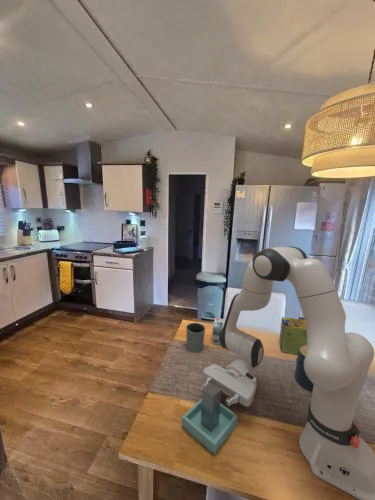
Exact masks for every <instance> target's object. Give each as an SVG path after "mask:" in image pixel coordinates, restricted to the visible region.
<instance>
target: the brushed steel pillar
mask: <svg viewBox="0 0 375 500" xmlns="http://www.w3.org/2000/svg"><path fill="white" fill-rule="evenodd" d="M221 396H222V391H221V389H220V388H219V387H217V386H216V385H214V384H212V383H211V382H210V383H209V384H208V385H207V386H205V387H204V386H203V388H202V389H201V398H202V404H201V424H202V425H203V426H204V427H205V428H207V429H208V430H209V431H210V432H212V431H213V430H214V428H215V427H216V426H217V425H218V424H219V415H220V403H221Z"/></svg>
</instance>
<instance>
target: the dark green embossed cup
mask: <svg viewBox="0 0 375 500" xmlns="http://www.w3.org/2000/svg"><path fill="white" fill-rule="evenodd" d="M185 327H186V329H185V330H186V349H187V350H188V351H189V352H191V353H199V352H201V351H202V350H203V347H204V341H205V335H206V334H205V333H206V327H205V325H203V324H202V323H198V322H191V323H188V324H187V325H186V326H185Z"/></svg>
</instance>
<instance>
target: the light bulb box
mask: <svg viewBox="0 0 375 500" xmlns="http://www.w3.org/2000/svg"><path fill="white" fill-rule="evenodd" d="M213 320H214V321H213V324H212V339H211V340H212V341H211V342H212V343H211V344H212V345H216V346H221V344H220V341H219V336H220V333H221V330H222V328H223V326H224V323H225V320H226V318H218V317H215V318H214V319H213Z"/></svg>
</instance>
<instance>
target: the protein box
mask: <svg viewBox="0 0 375 500" xmlns="http://www.w3.org/2000/svg"><path fill="white" fill-rule="evenodd" d="M278 341H279V348H280V352H281V353H285V354H290V355H296V356H297V353H298V351H299V350H300V348H301V347H302V346H305V345H307V330H306V323H305V319H300V318H293V317H286V316H285V317H284V316H282V317H281V323H280V332H279V340H278Z"/></svg>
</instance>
